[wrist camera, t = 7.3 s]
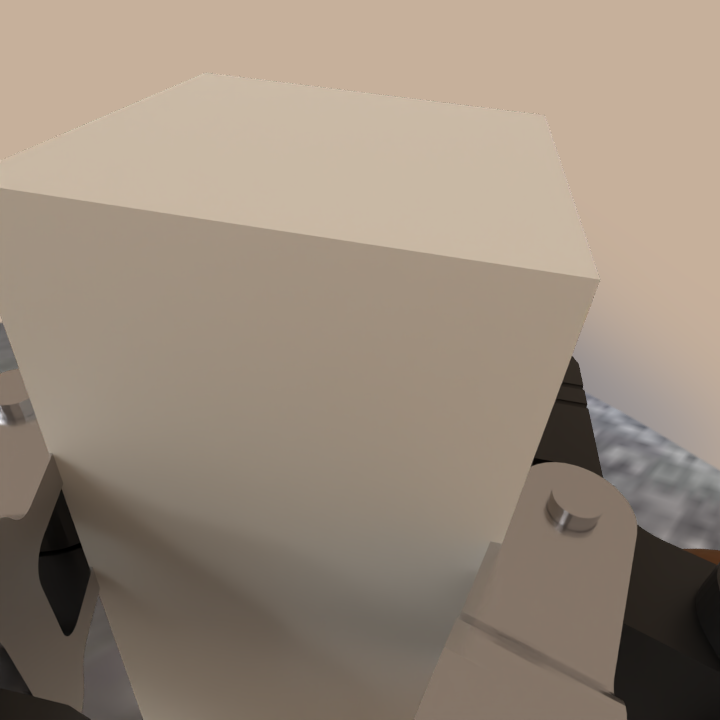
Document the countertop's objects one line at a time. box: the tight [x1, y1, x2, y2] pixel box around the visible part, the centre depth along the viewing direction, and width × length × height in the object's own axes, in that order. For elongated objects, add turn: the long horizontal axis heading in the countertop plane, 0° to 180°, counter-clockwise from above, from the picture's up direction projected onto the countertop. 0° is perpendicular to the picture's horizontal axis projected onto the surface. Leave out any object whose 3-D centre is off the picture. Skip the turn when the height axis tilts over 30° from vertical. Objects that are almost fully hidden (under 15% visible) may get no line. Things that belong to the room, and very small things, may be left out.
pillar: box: [0, 73, 600, 720], centre depth 9 cm, size 4×4×10 cm
